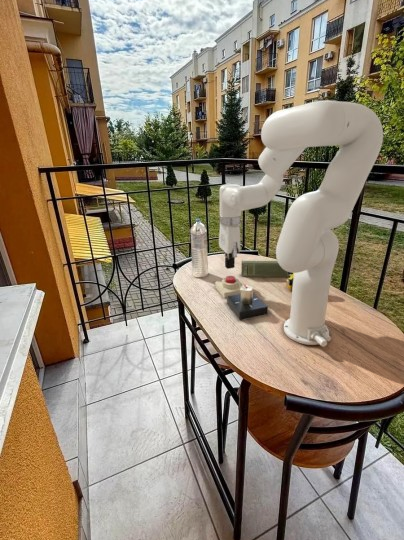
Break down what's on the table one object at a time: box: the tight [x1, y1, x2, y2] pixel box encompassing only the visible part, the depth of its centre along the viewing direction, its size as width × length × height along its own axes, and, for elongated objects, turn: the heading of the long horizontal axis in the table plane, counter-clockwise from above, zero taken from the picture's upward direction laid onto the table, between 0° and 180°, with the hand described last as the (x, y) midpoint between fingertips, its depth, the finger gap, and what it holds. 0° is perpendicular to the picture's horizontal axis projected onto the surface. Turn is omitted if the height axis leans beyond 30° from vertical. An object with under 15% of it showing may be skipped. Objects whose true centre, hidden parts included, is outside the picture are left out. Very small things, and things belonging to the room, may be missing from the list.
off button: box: [225, 275, 236, 283], centre depth 107 cm, size 4×4×2 cm
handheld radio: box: [240, 260, 293, 278], centre depth 119 cm, size 7×3×25 cm
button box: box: [214, 277, 244, 299], centre depth 108 cm, size 10×9×4 cm
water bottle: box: [189, 218, 209, 278], centre depth 119 cm, size 7×7×25 cm
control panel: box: [226, 291, 269, 321], centre depth 95 cm, size 11×10×3 cm
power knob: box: [241, 284, 254, 304], centre depth 94 cm, size 4×4×5 cm
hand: (229, 267), depth 106 cm, fingers closed
